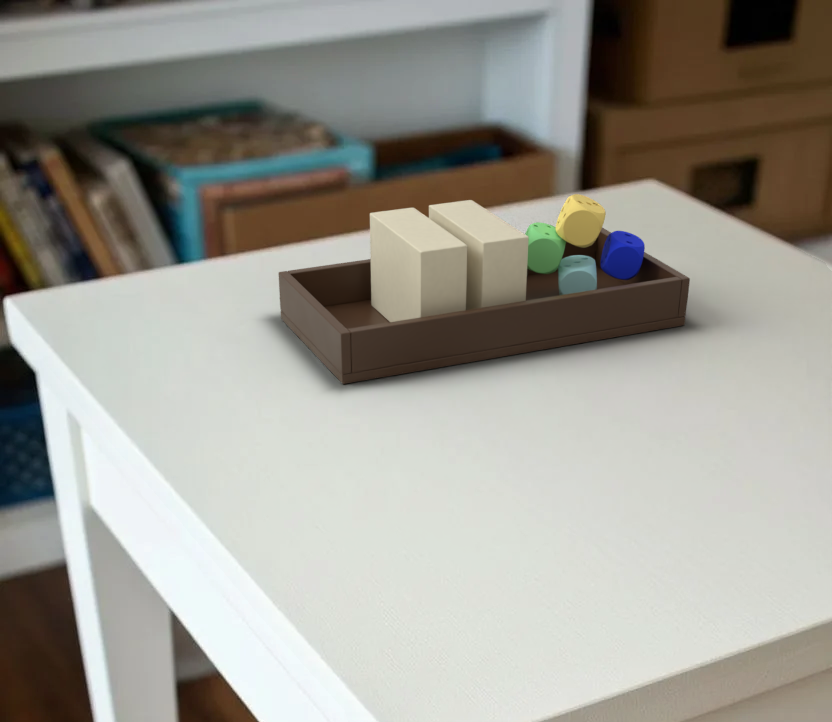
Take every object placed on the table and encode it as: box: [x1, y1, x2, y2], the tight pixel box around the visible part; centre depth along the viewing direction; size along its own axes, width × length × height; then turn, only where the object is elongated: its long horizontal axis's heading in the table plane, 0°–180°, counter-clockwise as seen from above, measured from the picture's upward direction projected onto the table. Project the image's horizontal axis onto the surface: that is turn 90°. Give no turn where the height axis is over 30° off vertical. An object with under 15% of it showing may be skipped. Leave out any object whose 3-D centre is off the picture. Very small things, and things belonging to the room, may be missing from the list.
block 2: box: [428, 199, 529, 310], centre depth 86 cm, size 3×8×6 cm, turn 23°
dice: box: [524, 193, 646, 295], centre depth 88 cm, size 8×3×6 cm, turn 87°
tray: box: [278, 227, 691, 385], centre depth 87 cm, size 23×11×3 cm, turn 113°
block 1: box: [369, 206, 467, 322], centre depth 85 cm, size 3×8×6 cm, turn 23°
